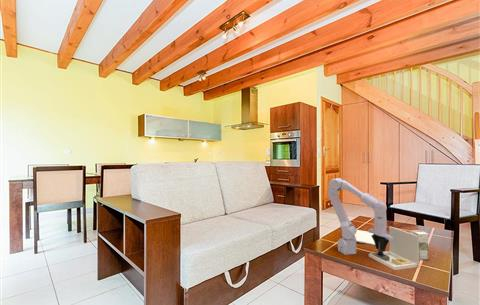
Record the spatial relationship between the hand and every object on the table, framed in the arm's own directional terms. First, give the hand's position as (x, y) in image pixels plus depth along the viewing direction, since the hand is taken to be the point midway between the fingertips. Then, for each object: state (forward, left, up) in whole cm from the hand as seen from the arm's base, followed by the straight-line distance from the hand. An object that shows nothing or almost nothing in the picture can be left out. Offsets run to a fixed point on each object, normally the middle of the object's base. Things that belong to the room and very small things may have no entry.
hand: (380, 249), depth 123 cm
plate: (+17, +30, -6) cm, 35 cm away
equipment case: (+3, -4, -6) cm, 8 cm away
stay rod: (0, 0, -3) cm, 3 cm away
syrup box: (+24, -2, -6) cm, 25 cm away
